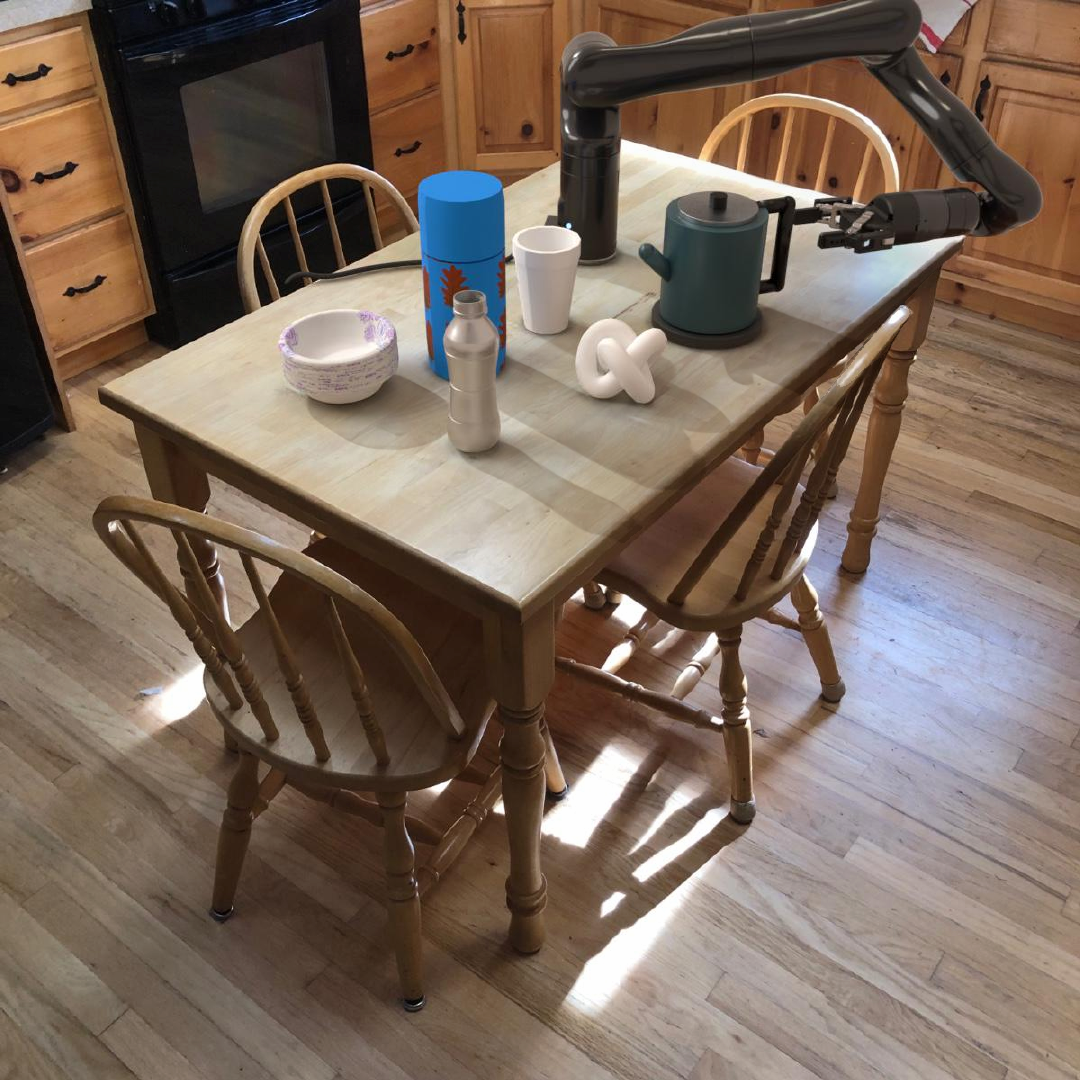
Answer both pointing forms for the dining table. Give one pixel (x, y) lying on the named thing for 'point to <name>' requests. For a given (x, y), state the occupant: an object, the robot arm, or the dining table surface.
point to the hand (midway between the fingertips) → (805, 229)
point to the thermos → (461, 253)
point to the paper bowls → (339, 354)
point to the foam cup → (546, 275)
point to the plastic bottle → (472, 374)
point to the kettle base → (706, 340)
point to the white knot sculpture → (618, 360)
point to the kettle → (718, 259)
